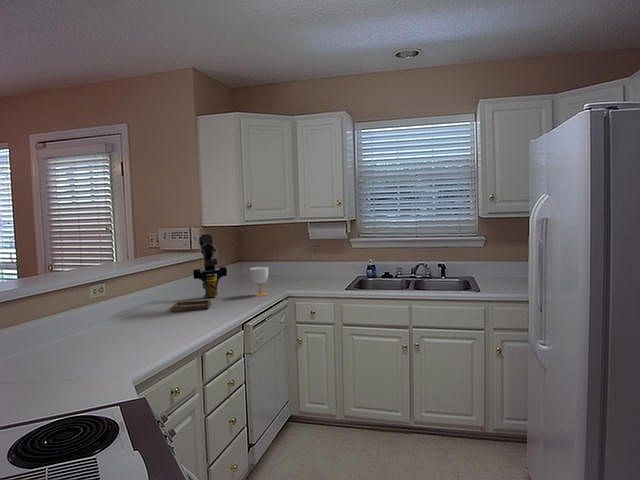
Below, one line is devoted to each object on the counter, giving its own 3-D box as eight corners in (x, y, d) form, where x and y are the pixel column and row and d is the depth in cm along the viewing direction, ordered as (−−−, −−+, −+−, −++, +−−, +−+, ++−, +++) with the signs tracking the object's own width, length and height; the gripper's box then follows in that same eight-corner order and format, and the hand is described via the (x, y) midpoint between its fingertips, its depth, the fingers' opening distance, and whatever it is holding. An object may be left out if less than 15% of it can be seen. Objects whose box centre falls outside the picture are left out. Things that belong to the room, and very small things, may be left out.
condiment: (217, 296, 263) (216, 275, 262) (202, 297, 262) (200, 276, 261) (218, 294, 270) (217, 273, 269) (203, 295, 269) (202, 274, 268)
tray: (176, 306, 274) (176, 302, 274) (211, 303, 276) (210, 299, 276) (170, 312, 258) (170, 308, 258) (207, 309, 260) (207, 305, 260)
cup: (273, 293, 300) (271, 266, 299) (263, 296, 290) (261, 269, 289) (257, 292, 305) (256, 266, 304) (247, 296, 295) (245, 269, 294)
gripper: (191, 255, 266) (193, 277, 256) (225, 252, 271) (228, 274, 261) (192, 267, 274) (194, 289, 264) (225, 264, 279) (228, 286, 269)
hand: (211, 284), depth 264 cm, fingers closed on condiment, 6 cm apart
